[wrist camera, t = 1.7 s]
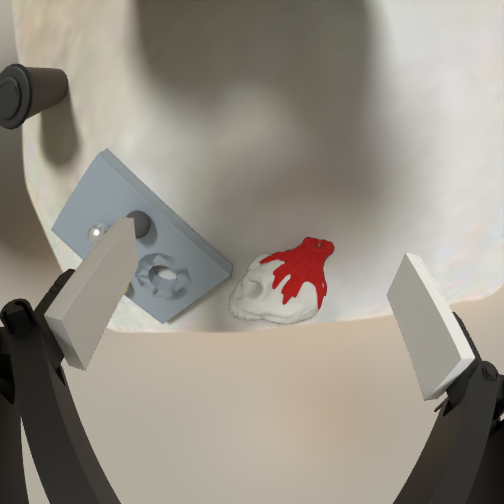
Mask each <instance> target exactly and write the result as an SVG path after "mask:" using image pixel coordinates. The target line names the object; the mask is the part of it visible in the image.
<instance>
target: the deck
mask: <svg viewBox="0 0 504 504" xmlns="http://www.w3.org/2000/svg"><path fill="white" fill-rule="evenodd" d="M136 210H139V211H143V212H145V213H146V214H147V215H148V216H149V218H150V221H151V227H150V230H149V232H148V234H147V235H146V236H144V237H142V238H138V239H136V247H137V256H138V264H139V266H138V268H137V270H136V272H135V274H134V275H133V277H132V279H131V281H130V283H129V289H128V291H127V293H126V294H124V295H126V296H127V297H128V298H129V299H131V300H132V301H133V302H134V303H136V304H137V305H138V306H139V307H141V308H142V309H143V310H145V311H146V312H147V313H149V314H150V315H151V316H152V317H154V318H155V319H156V320H158V321H159V322H161V323H162V324H164V323H165V322H167V321H168V320H169V319H171V318H172V317H174V316H175V315H176V314H178V313H179V312H181V311H182V310H183V309H185V308H186V307H188V306H189V305H190V304H192V303H193V302H195V301H196V300H197V299H199V298H200V297H202V296H203V295H204V294H206V293H207V292H209V291H210V290H211V289H213V288H214V287H216V286H217V285H218V284H220V283H221V282H223V281H224V280H225V279H227V278H228V277H230V276H231V271H232V264H231V263H229V262H228V261H227V260H226V259H225V258H224V257H223V256H222V255H221V254H219V253H218V252H217V251H216V250H215V249H214V248H213V247H212V246H211V245H210V244H208V243H207V242H206V241H205V240H204V239H203V238H202V237H201V236H200V235H199V234H198V233H196V232H195V231H194V230H193V229H192V228H191V227H190V226H189V225H188V224H187V223H186V222H185V221H183V220H182V219H181V218H180V217H179V216H178V215H177V214H176V213H175V212H174V211H173V210H172V209H170V208H169V207H168V206H167V205H166V204H165V203H164V202H163V201H162V200H161V199H160V198H159V197H158V196H157V195H155V194H154V193H153V192H152V191H151V190H150V189H149V188H148V187H147V186H146V185H145V184H144V183H143V182H142V181H141V180H140V179H139V178H137V177H136V176H135V175H134V174H133V173H132V172H131V171H130V170H129V169H128V168H127V167H126V166H125V165H124V164H123V163H122V162H121V161H120V160H119V159H118V158H116V157H115V156H114V155H113V154H112V153H111V152H110V151H109V150H108V149H106V150H104V151H102V152H100V153H99V154H98V155H97V156H96V158H95V159H94V160H93V162H92V163H91V165H90V166H89V168H88V169H87V171H86V172H85V174H84V175H83V177H82V178H81V180H80V181H79V183H78V185H77V186H76V188H75V189H74V191H73V193H72V194H71V196H70V197H69V199H68V201H67V203H66V204H65V206H64V208H63V209H62V211H61V213H60V215H59V216H58V218H57V220H56V222H55V224H54V225H53V227H52V229H51V230H52V231H53V232H54V233H55V234H56V235H57V236H58V237H59V238H60V239H61V240H62V241H63V242H64V243H66V244H67V245H68V246H69V247H70V248H71V249H72V250H73V251H74V252H75V253H76V254H77V255H79V256H80V257H81V258H82V259H83V260H84V259H85V258H86V256H87V255H88V254H89V253H90V251H91V250H92V249H93V248H94V246H93V245H92V244H91V243H90V242H89V240H88V236H87V234H88V229H89V227H90V226H91V225H92V224H93V223H95V222H98V221H102V222H105V223H107V224H108V225H109V226H110V227H111V226H112V225H113V223H114V222H115V221H116V220H117V219H118V218H119V217H126V216H127V215H128V214H129V213H130V212H132V211H136ZM157 265H162V266H166V267H169V268H170V269H171V270H172V271H173V272H175V274H176V276H177V279H173V280H167V279H164V278H161V277H160V276H159V275H158V274H156V272H155V270H154V268H153V266H157Z"/></svg>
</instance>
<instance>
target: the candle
mask: <svg viewBox="0 0 504 504" xmlns="http://www.w3.org/2000/svg"><path fill="white" fill-rule="evenodd" d="M334 248H335V247H334V245H333V243H332V242H329V241H326V240H324V239H323V240H318V239H316V238H310V237H306V238H305V239H304V241H303V243H302V244H301V245H299V246H298V247H296V248H295V249H292V250H287V251H284V252H277V253H274V254H272V255H267V254H262V255H261V256H259V257H257V258H256V259H255V260H254V261H253V262H252V263H251V264H250V265H249V266H248V268H247V271H248V273H246V274H245V275H244V276H243V278H242V280H240V281H239V283H238V285H237V287H236V288H235V290H234V291H233V292H232V293H231V295H230V299H229V311H230V314H233V317H234V318H236V317H237V316H238V317H237V318H238V319H240V320H241V319H243V318H244V319H245V320H250V319H251V320H259V319H265V320H267V321H270V322H273V323H278V324H292V323H297V322H301V321H304V320H307V319H310V318H312V317H313V316H314V315H315V314H316V313H317V312H318V311H319V309H320V307H321V304H322V300H323V297H324V295H325V296H326V293H327V284H326V281H325V277H324V271H323V266H324V262H325V260H326V258H327V257H328V256H329V255H331V254H332V253H333V251H334Z"/></svg>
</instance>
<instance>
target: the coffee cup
mask: <svg viewBox="0 0 504 504" xmlns="http://www.w3.org/2000/svg"><path fill="white" fill-rule="evenodd" d="M67 89H68V79H67V76H66V74H65V73H64V72H63V71H62V70H60V69H52V68H32V67H24V66H23V65H21V64H12V65H10V66H8V67H6V69H4V70H3V71H2V72H1V73H0V125H1V126H2V127H4V128H7V129H15V128H18V127H19V126H20V125H21V124H23V123H24V121H25V120H26V119H28V118H30V117H32V116H33V115H35V114H37V113H39V112H41V111H43V110H45V109H48V108H50V107H52V106H54V105H56V104H58V103H59V102H61V101H62V99H63V98H64V97H65V95H66V93H67Z"/></svg>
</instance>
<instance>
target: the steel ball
mask: <svg viewBox="0 0 504 504" xmlns="http://www.w3.org/2000/svg"><path fill="white" fill-rule="evenodd" d="M109 228H110V226H109V225H108V224H107V223H105V222H102V221H98V222H95V223H93V224H92V225H91V226H90V227H89V229H88V234H87V236H88V240H89V242H90V243H91V244H92V245H93V246H95V245H96V244H97V243H98V241H99V240H100V239H101V238H102V237H103V235H104V234H105V233H106V232H107V231H108V229H109Z"/></svg>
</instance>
